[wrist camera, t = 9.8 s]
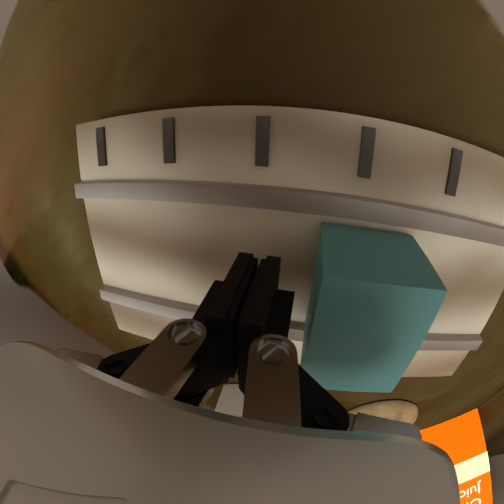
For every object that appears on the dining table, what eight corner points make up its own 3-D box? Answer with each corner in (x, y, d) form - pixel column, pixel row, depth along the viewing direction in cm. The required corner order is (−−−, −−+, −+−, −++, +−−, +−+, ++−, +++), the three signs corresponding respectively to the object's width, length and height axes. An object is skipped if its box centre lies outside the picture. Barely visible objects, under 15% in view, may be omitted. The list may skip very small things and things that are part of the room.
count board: (99, 121, 13) (68, 126, 10) (518, 165, 9) (545, 178, 6) (132, 312, 19) (114, 334, 17) (445, 355, 15) (453, 381, 13)
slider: (321, 222, 11) (322, 276, 7) (412, 235, 10) (447, 290, 6) (305, 320, 13) (297, 386, 10) (380, 328, 12) (391, 392, 9)
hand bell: (333, 438, 23) (314, 567, 10) (338, 402, 20) (315, 577, 6) (406, 431, 21) (404, 558, 7) (428, 392, 17) (437, 558, 4)
